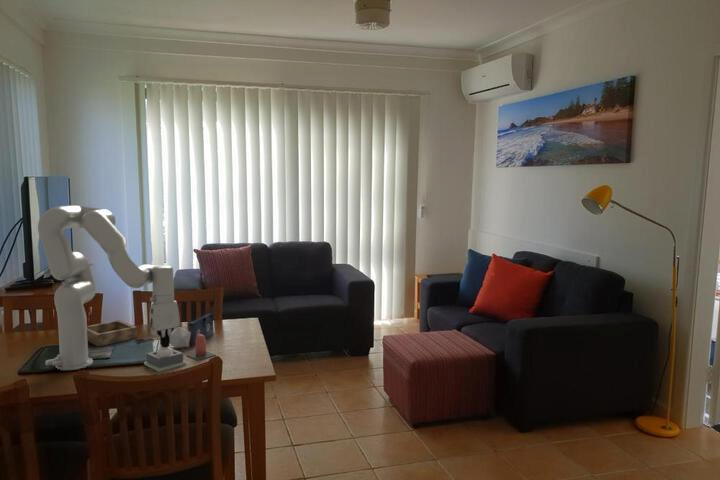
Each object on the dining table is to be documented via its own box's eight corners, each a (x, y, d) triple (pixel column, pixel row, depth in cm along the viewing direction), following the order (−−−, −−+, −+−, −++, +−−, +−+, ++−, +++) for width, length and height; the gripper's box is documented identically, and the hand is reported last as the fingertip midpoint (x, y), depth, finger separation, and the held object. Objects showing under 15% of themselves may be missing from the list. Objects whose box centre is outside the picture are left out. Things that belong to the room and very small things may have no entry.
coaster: (198, 360, 214) (198, 359, 214) (186, 356, 219) (186, 355, 219) (215, 355, 220) (215, 354, 220) (204, 351, 225) (204, 350, 225)
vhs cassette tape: (208, 334, 250) (208, 312, 249) (214, 335, 249) (214, 313, 248) (187, 346, 232) (186, 323, 231) (193, 346, 231) (193, 323, 230)
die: (187, 355, 228) (196, 336, 235) (182, 341, 222) (191, 322, 229) (168, 353, 229) (177, 334, 236) (162, 339, 223) (172, 320, 230)
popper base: (159, 371, 201) (158, 360, 201) (144, 364, 208) (143, 353, 208) (186, 364, 209) (185, 353, 209) (170, 357, 217) (170, 347, 216)
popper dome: (161, 364, 204) (161, 349, 204) (153, 360, 208) (153, 346, 208) (176, 360, 209) (176, 346, 208) (168, 356, 213) (167, 342, 212)
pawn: (199, 357, 216) (198, 336, 215) (193, 354, 219) (193, 334, 218) (208, 354, 219) (207, 334, 218) (203, 352, 222) (202, 332, 221)
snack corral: (98, 346, 230) (97, 334, 229) (81, 338, 241) (80, 327, 240) (137, 338, 242) (137, 327, 242) (119, 330, 254) (119, 320, 253)
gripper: (149, 303, 198) (151, 353, 200) (186, 296, 209) (188, 343, 211) (139, 300, 203) (141, 348, 205) (176, 294, 214) (177, 340, 216)
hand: (165, 346), depth 208 cm, fingers closed
